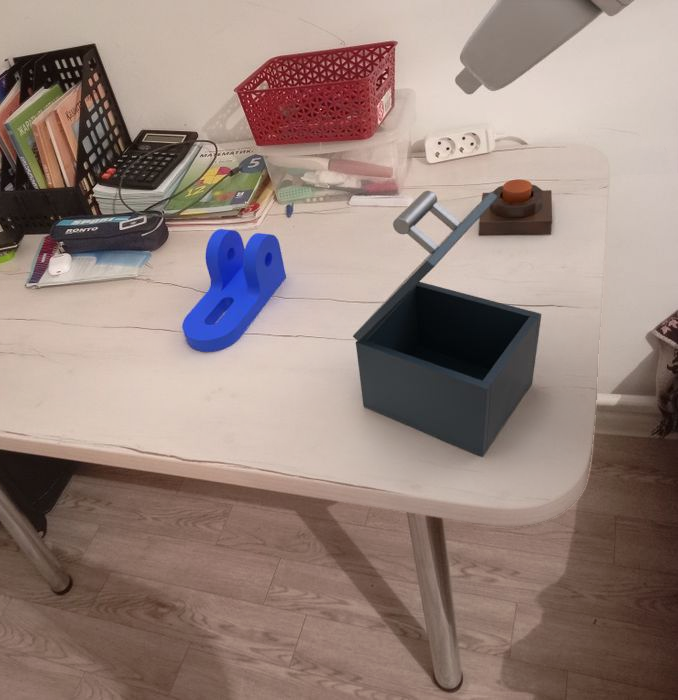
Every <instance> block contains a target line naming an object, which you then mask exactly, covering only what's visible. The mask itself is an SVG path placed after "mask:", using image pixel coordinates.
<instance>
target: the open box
mask: <svg viewBox="0 0 678 700" xmlns="http://www.w3.org/2000/svg"><path fill="white" fill-rule="evenodd" d="M541 321H542V313H540V312H536V311H532V310H528V309H525V308H522V307H517V306H514V305H509V304H506V303H503V302H498V301H496V300H495V301H494V300H491V299H486V298H483V297H479V296H476V295H471V294H467V293H464V292H461V291H458V290H457V291H456V290H453V289H449V288H446V287H441V286H438V285H434V284H430V283H426V282H422V281H419V282H418V283H417V284H416V285H415V286H414V287H413V288H412V289H411V290H410V291H409V292H408V293H407V294H406V295H405V296H404V297H403V298H402V299H401V300H400V301H399V302H398V303H397V304H396V305H395V306H394V307H393V308H392V309H391V310H390V311H389V312H388V313H387V314H386V315H385V316H384V317H383V318H382V319H381V320H380V321H379V322H378V323H377V324H376V325H375V326H374V327H373V328H372V329H370V330H369V331H368V332H367V333H366V334H365V335H364V336H363V337H362V338H361V339H360V340H359V341H357V340H356V341H355V347H356V356H357V364H358V372H359V373H358V374H359V380H360V382H359V383H360V389H361V390H360V391H361V397H362V405H363V407H364V408H366V409H368V410H371V411H373V412H375V413H377V414H380V415H382V416H385V417H387V418H390V419H392V420H394V421H397V422H399V423H401V424H404V425H406V426H408V427H411V428H413V429H415V430H417V431H420V432H422V433H425V434H427V435H429V436H432V437H434V438H436V439H439V440H441V441H443V442H445V443H448V444H450V445H453V446H455V447H458V448H460V449H461V450H464V451H467V452H469V453H472V454H474V455H476V456H478V457H480V458H484V456H485V454H487V452H488V450H489V448H490V447H491V445H492V444H493V443H494V441H495V440H496V438H497V437H498V435H499V434H500V432H501V431H502V430H503V428H504V427H505V425H506V423H507V422H508V420H509V419H510V417H511V416H512V415H513V413H514V412H515V411H516V408H517V407H518V406H519V404H520V403H521V401H522V400H523V398H524V397H525V395H526V394H527V392H528V391H529V389H530V388H531V386H532V385H533V381H534V372H535V367H536V359H537V352H538V343H539V336H540V330H541V329H540V328H541Z"/></svg>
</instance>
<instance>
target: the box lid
mask: <svg viewBox="0 0 678 700" xmlns="http://www.w3.org/2000/svg"><path fill="white" fill-rule="evenodd" d="M488 193H489V194H488V195H487V196H486V197H485V198H484V199H483V200H482V199H481V201H480V202H479V203H478V204H477V205H476V206H475V207H474V208H473V209H472V210H471V211H470V212H468V213H469V214H467V215H466V216H465V218H463V219H462V221H459V219H457V218H456V217H455V216H453V215H452V214H451V213H450V212H449V211H447V209H445V208H444V207H443V206H441V204H439V203H438V197H437V195H436V194H435V193H434V192H433V191H431V190H425V191H423V192H422V193H421V194H419V196H417V197H416V198H415V200H414V201H412V203H410V204H409V205H408V206H407V207H406V208H405V209H404V210H403V211H402V212H400V214H399V215H398V216H397V217H396V218H395V219H394V220H393V222H392V226H393V229H394V231H395V232H396V233H398V234H399V235H408V236H409V237H410V239H412V240H413V241H415V243H417V245H419V246H420V247H422V249H424V250H425V251H426V252H428V253H429V255H427V256H426V257H425V258H424V259H423V261H422V262H421V263H419V264H418V266H416V268H415V269H414V270H413V271H412V272H411V273H410V274H409V275H408V276H407V277H405V279H404V280H403V281H402V282H401V283H400V284H399V285H398V287H397V288H396V289H394V291H393V292H392V293H391V294H390V295H389V296H388V297H387V299H386V300H385V301H384V302H383V303H382V304H381V305H380V306H379V307H378V308H377V309H376V311H374V313H372V314H371V315H370V317H369V318H368V319H367V320H366V321H365V322H364V323H363V324H362V325H361V326H360V327H359V328H358V330H357V331H356V332H355V333H354V334H353V335H352V337H353V338H354V339H355V340H356V342H357V341H359V340H360V339H361V338H362V337H363V336H364V335H365V334H366V333H367V332H368V331H369V330H370V329H372V328H373V327H374V326H375V325H376V324H377V323H378V322H379V321H380V320H381V319H382V318H383V317H384V316H385V315H386V314H387V313H388V312H389V311H390V310H391V309H392V308H393V307H394V306H395V305H396V304H397V303H398V302H399V301H400V300H401V299H402V298H403V297H404V296H405V295H406V294H407V293H408V292H409V291H410V290H411V289H412V288H413V287H414V286H415V285H416V284H417V283H418V282H421V281H422V280H423V279H424V278H425V277H426V276H427V275H428V274H429V273H430V272H431V271H432V270H433V269H434V268H435V267H436V266H437V264H439V262H440V261H441V260H442V259H443V258H445V256H446V255H447V254H448V252H450V251H451V250H452V248H453V247H454V246H455V245H456V244H457V242H459V240H460V239H461V238H462V237H463V236H464V235H465V234H466V233H467V232H468V231H469V230H470V229H471V227H472V226H473V225H474V224H475V223H476V222H477V221H478V220H479V219H480V216H481V215H482V214H483V213H484V212H485V211H486V210H487V209H488V207H489V206H490V205H491V204H492V203H493V202H494V201H495V200H496V199H497V196H496V195H495V194H494V193H493V191H489V192H488ZM429 212H430V213H431V214H433V215H434V216H435V217H436V218H437V219H438V220H439V221H441V223H443V224H444V225H445V226H446V227H447V228H449V229H450V230H451V232H450V233H449V234H448V235H447V236H446V237H445V238H444V239H443V240H442V241H440V243H439V244H437V243H435V242H434V241H433V240H432V239H431V238H430V237H428V236H427V235H426V234H425V233H424V232H423V231H421V230H420V229H419V228H418V227H417V226H416V225H417V224H418V223H419V222H420V221H421V220H422V219H423V218H424V217H425V216H426V215H427V214H428V213H429Z"/></svg>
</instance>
